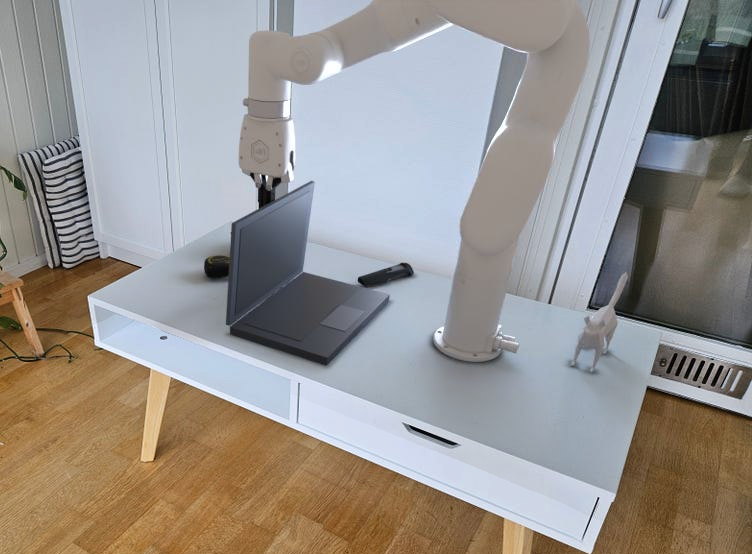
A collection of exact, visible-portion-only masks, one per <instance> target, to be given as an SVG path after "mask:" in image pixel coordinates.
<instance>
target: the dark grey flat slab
mask: <svg viewBox="0 0 752 554" xmlns="http://www.w3.org/2000/svg"><path fill="white" fill-rule="evenodd" d="M390 295H391V294H390V293H386V292H382V291H379V290H375V289H371V288H367V287H364V286H359V285H356V284H352V283H347V282H344V281H340V280H336V279H332V278H329V277H326V276H325V277H324V276H320V275H317V274H313V273H309V272H305V271H303V272H301V273H300V274H299V275H297V276H296V277H295V278H293V279H292V280H291V281H289V282H288V283H287V284H285V285H284V286H283V287H281V288H280V289H279V290H277V291H276V292H275V293H273V294H272V295H271V296H269V297H268V298H266V299H265V300H264V301H262V302H261V303H260V304H258V305H257V306H256V307H254V308H253V309H252V310H250V311H249V312H248V313H246V314H245V315H244V316H242V317H241V318H240V319H238V320H237V321H236V322H234V323H233V324H232V325H230V326H229V335H230V336H233V337H236V338H240V339H241V340H246V341H248V342H252V343H253V344H254V343H255V344H258V345H261V346H263V347H267V348H270V349H273V350H275V351H279V352H282V353H285V354H288V355H292V356H294V357H298V358H301V359H304V360H307V361H310V362H313V363H316V364H318V365H322V366H325V367H327V366H329V364H330V363H331V362H333V360H334V359H335V358H336V357H337V356H339V354H340V353H341V352H342V351H343V350H344V349H345V348H346V347H347V345H349V344H350V343H351V342H352V340H353V339H354V338H355V337H356V336H357V335H358V334H359V333H360V332H361V331H362V330H363V329H364V328H365V327H366V326H367V325H368V324H369V323H370V322H371V321H372V320H373V319H374V318H375V317H376V316H377V315H378V314H379V312H381V311H382V309H384V307H385V306H386V305H387V304H388V303H389V302H390V298H391V297H390Z"/></svg>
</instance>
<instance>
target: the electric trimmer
mask: <svg viewBox="0 0 752 554" xmlns="http://www.w3.org/2000/svg"><path fill="white" fill-rule="evenodd" d="M414 274H415V272H414V269H413V267H412V266H411V265H410V264H409V263H408V262H400V263H399V264H396V265H393V266H389V267H386V268H383V269H379V270H376V271H373V272H370V273H367V274H363V275H360V276H358V277H357V283H358V284H360V285H362V287H368V286H376V285H380V284H385V283H388V281H389V280H390V281H391V280H394V279H396V278H401V277H404V276H408V277H413V276H414Z"/></svg>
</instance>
